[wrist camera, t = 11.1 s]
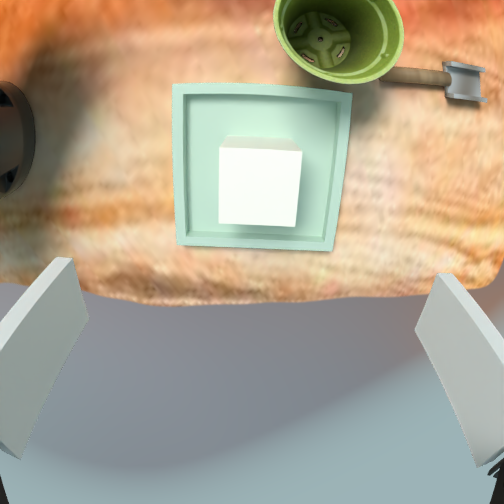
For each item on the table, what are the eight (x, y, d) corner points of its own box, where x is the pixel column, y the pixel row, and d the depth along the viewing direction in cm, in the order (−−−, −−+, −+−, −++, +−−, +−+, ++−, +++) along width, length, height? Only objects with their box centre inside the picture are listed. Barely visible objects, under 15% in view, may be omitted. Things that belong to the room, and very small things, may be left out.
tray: (180, 236, 34) (176, 244, 32) (177, 84, 26) (172, 84, 24) (328, 242, 34) (332, 251, 32) (346, 93, 26) (352, 93, 24)
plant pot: (339, 104, 27) (370, 109, 19) (250, 57, 25) (249, 42, 17) (380, 31, 23) (422, 15, 15) (295, -17, 21) (310, -53, 13)
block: (226, 195, 31) (218, 223, 25) (227, 135, 28) (219, 147, 22) (286, 198, 31) (295, 226, 25) (291, 138, 28) (302, 151, 22)
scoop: (380, 92, 26) (387, 93, 24) (376, 54, 24) (382, 53, 22) (477, 101, 25) (487, 102, 23) (475, 67, 23) (484, 68, 22)
